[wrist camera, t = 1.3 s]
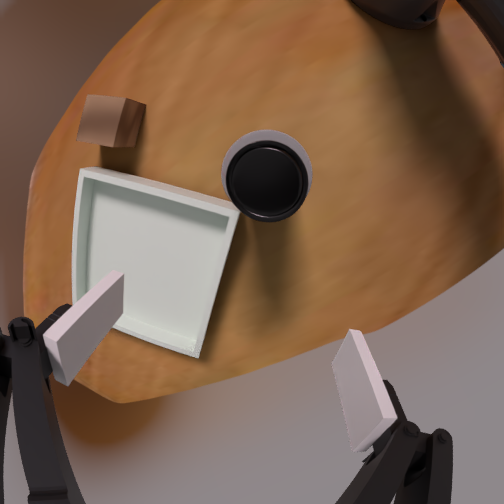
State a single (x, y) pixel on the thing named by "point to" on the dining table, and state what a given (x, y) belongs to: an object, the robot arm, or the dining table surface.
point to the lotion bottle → (267, 175)
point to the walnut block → (110, 121)
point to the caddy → (152, 253)
